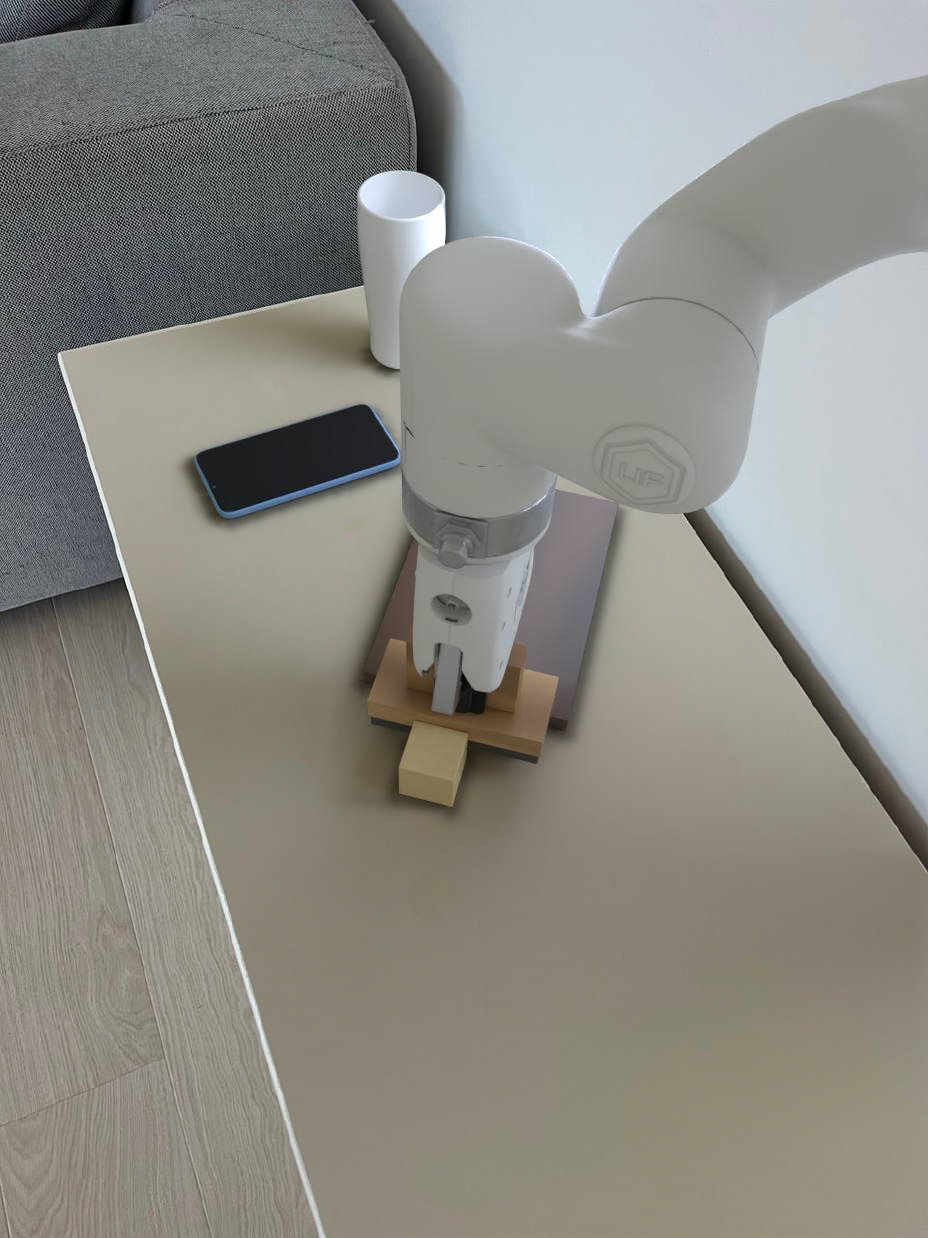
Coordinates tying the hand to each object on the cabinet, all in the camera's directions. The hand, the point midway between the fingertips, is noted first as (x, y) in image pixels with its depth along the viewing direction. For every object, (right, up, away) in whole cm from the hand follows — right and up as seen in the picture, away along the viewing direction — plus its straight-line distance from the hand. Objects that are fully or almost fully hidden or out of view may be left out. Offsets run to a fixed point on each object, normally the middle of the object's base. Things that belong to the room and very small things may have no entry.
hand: (464, 687), depth 68 cm
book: (+2, +6, +10) cm, 12 cm away
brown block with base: (0, -2, +3) cm, 3 cm away
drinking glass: (-5, +27, +25) cm, 37 cm away
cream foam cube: (-2, -6, +1) cm, 6 cm away
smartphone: (-13, +16, +17) cm, 27 cm away
